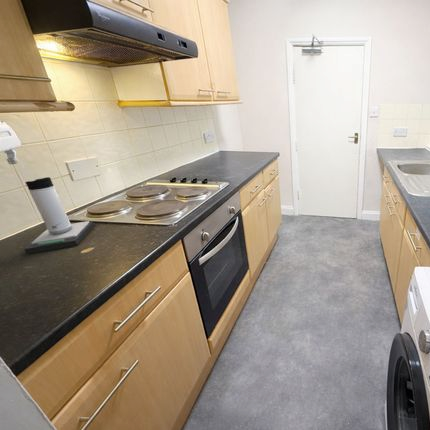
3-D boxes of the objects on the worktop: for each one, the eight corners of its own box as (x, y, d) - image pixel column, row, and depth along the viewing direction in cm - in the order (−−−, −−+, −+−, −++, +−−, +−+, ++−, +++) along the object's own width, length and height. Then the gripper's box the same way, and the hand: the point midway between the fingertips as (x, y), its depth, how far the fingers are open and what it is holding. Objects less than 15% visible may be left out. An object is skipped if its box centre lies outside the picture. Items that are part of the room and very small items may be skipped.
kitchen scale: (27, 254, 89) (23, 247, 88) (51, 232, 102) (48, 226, 101) (77, 245, 93) (74, 238, 92) (94, 225, 107) (92, 219, 106)
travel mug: (59, 235, 94) (34, 180, 86) (45, 234, 95) (18, 180, 87) (77, 227, 100) (55, 175, 92) (63, 226, 101) (40, 175, 93)
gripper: (-11, 119, 86) (13, 161, 92) (-69, 125, 68) (-35, 177, 74) (14, 117, 87) (36, 159, 93) (-37, 123, 70) (-6, 173, 76)
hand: (4, 167), depth 84 cm, fingers open, 8 cm apart
